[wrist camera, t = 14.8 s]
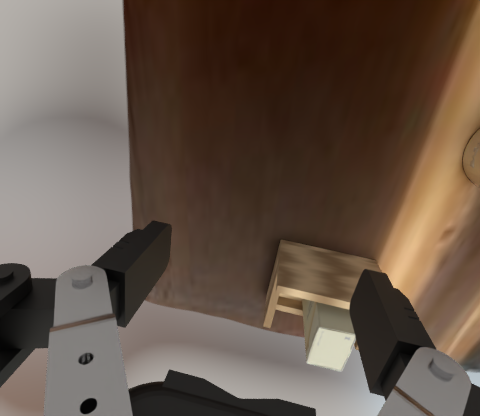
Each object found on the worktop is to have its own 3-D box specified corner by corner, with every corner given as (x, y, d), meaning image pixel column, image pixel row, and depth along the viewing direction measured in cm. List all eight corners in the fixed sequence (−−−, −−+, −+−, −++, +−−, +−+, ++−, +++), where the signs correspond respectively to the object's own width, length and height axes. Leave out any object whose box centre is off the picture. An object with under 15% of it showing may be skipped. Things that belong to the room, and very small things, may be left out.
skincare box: (311, 262, 42) (318, 324, 31) (341, 269, 42) (359, 334, 31) (301, 296, 45) (304, 364, 34) (329, 302, 45) (342, 373, 33)
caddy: (375, 260, 42) (403, 314, 32) (352, 314, 46) (370, 378, 36) (280, 239, 43) (277, 285, 33) (266, 294, 47) (260, 349, 37)
